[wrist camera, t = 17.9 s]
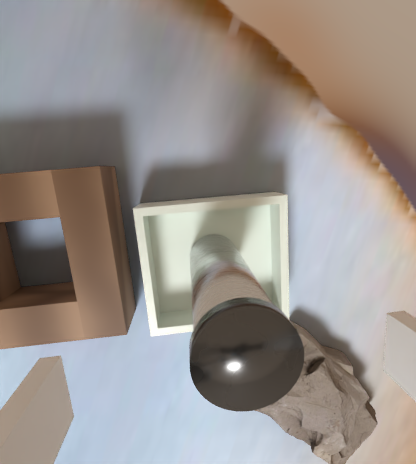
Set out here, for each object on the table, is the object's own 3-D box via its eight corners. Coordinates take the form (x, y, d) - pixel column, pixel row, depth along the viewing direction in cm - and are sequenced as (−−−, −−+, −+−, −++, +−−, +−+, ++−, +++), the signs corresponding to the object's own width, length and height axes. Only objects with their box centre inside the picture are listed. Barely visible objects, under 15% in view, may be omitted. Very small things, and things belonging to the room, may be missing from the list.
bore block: (-8, 323, 24) (-46, 354, 20) (-49, 179, 21) (-102, 182, 17) (136, 308, 24) (126, 334, 20) (114, 166, 22) (99, 166, 18)
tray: (154, 316, 25) (150, 336, 22) (139, 203, 22) (132, 208, 20) (277, 302, 25) (289, 320, 22) (274, 191, 23) (287, 194, 20)
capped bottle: (189, 284, 24) (195, 418, 11) (184, 234, 23) (184, 316, 10) (241, 279, 24) (304, 403, 11) (238, 229, 23) (304, 303, 10)
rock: (384, 387, 29) (415, 421, 25) (321, 445, 30) (341, 486, 26) (294, 310, 26) (313, 334, 22) (228, 376, 27) (235, 411, 23)
